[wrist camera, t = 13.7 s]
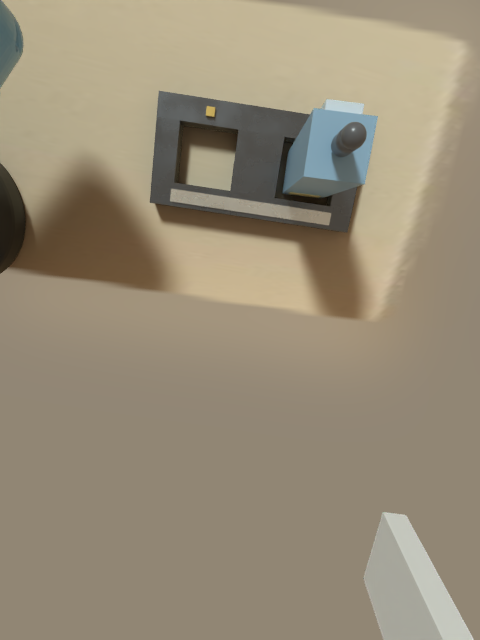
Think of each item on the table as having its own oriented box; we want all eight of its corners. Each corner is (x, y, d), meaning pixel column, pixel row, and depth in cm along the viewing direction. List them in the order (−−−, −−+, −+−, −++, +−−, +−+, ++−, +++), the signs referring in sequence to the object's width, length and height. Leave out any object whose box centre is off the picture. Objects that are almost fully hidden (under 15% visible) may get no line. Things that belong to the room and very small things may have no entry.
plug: (282, 194, 39) (313, 169, 20) (289, 143, 37) (329, 68, 19) (320, 199, 39) (385, 178, 20) (328, 148, 37) (405, 79, 19)
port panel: (154, 203, 39) (149, 202, 37) (163, 97, 37) (158, 89, 34) (342, 231, 39) (348, 232, 37) (363, 129, 37) (371, 123, 35)
